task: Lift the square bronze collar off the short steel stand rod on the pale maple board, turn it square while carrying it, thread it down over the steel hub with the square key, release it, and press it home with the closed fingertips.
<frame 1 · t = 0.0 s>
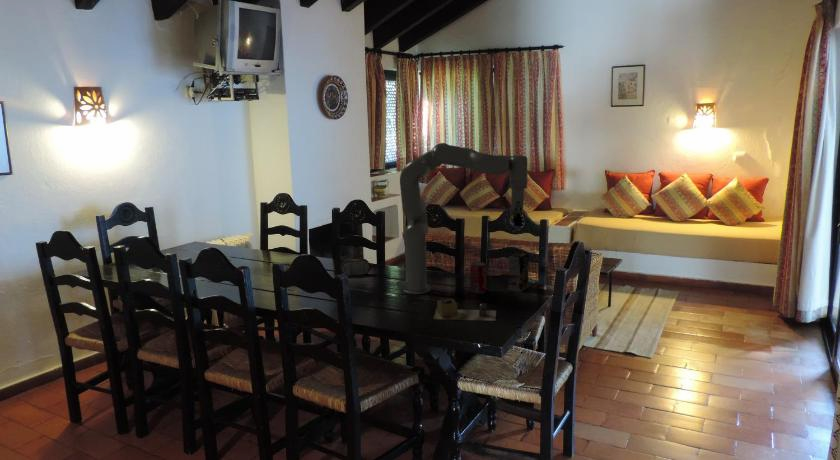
hand: (517, 223, 262), 31 cm above the table, tool pointing down, fingers open, 9 cm apart
hub: (482, 318, 236), resting on board
soda can: (478, 292, 270), on the table
tin: (355, 275, 302), on the table
coffee box: (518, 289, 274), on the table
collar: (447, 314, 238), point 1 cm above the table, touching board
board: (465, 317, 237), on the table
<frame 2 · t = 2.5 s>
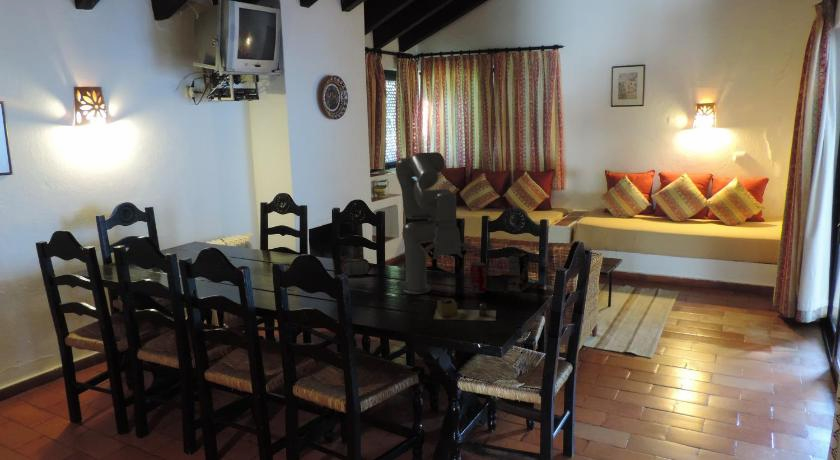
hand: (447, 267, 234), 20 cm above the table, tool pointing down, fingers open, 9 cm apart
nothing on the table moved.
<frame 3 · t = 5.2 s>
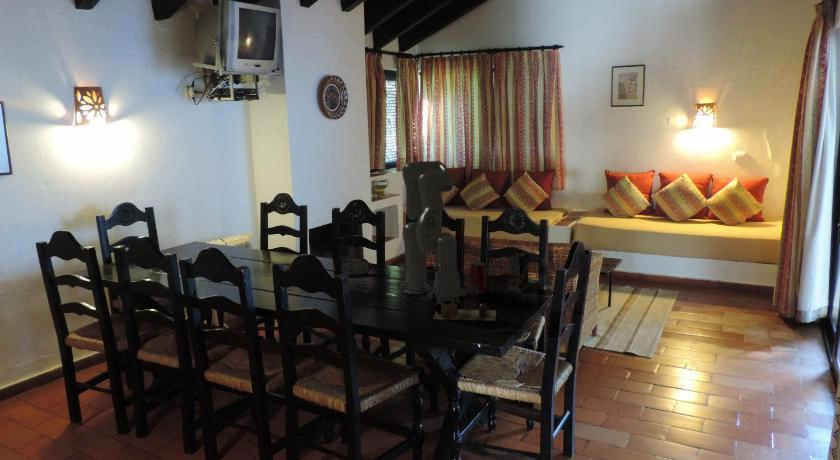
hand: (447, 312, 237), 2 cm above the table, tool pointing down, fingers closed on collar, 6 cm apart
collar: (447, 314, 238), point 1 cm above the table, touching board, gripper
everything else where it was.
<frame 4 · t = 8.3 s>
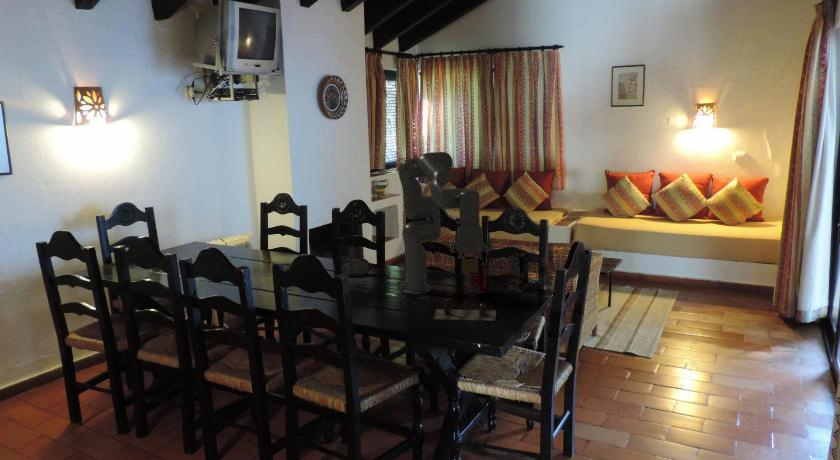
hand: (469, 268, 233), 20 cm above the table, tool pointing down, fingers closed on collar, 6 cm apart
collar: (469, 270, 233), point 19 cm above the table, touching gripper
everything else where it was.
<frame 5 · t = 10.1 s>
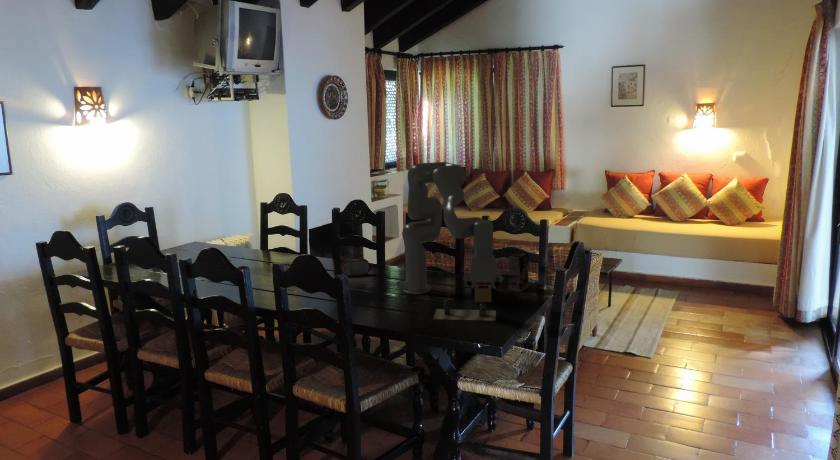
hand: (483, 297, 234), 9 cm above the table, tool pointing down, fingers closed on collar, 6 cm apart
collar: (483, 299, 234), point 8 cm above the table, touching gripper
everything else where it was.
when the fingers open (3 cm above the table, at t = 11.6 s): collar drops 1 cm, resting on board.
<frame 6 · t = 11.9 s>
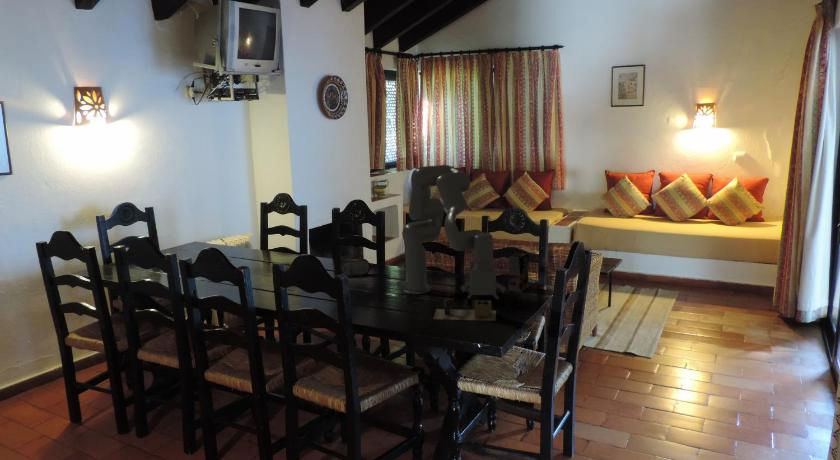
hand: (482, 307, 235), 4 cm above the table, tool pointing down, fingers open, 9 cm apart
collar: (482, 315, 236), point 1 cm above the table, touching board
everything else where it was.
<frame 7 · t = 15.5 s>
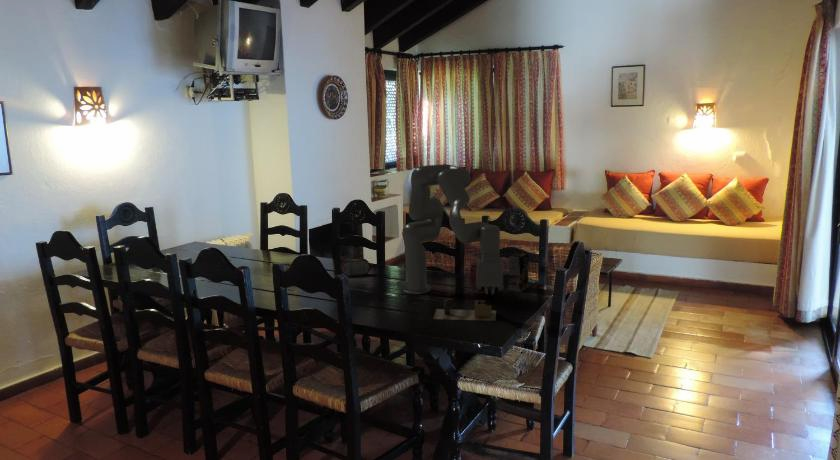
hand: (489, 303, 234), 6 cm above the table, tool pointing down, fingers closed
collar: (482, 315, 236), point 1 cm above the table, touching board, gripper
everything else where it was.
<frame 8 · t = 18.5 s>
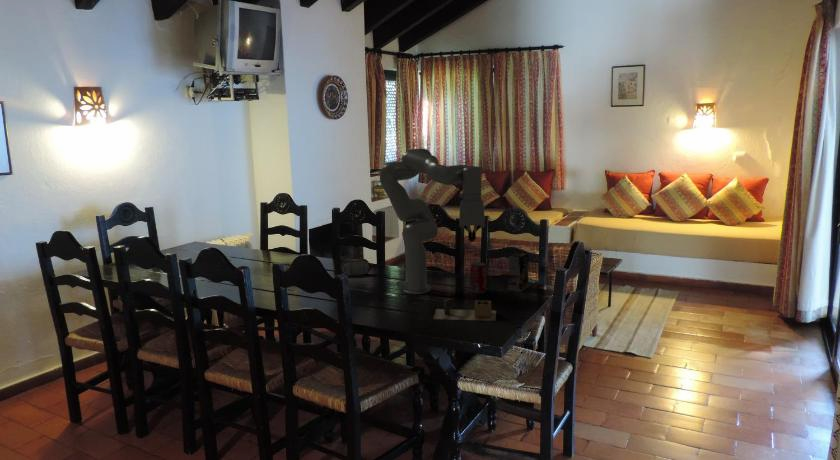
hand: (472, 241, 248), 27 cm above the table, tool pointing down, fingers closed
collar: (482, 315, 236), point 1 cm above the table, touching board
everything else where it was.
at the end: collar 0.0 cm off-centre on the hub, point 1.2 cm above the hub's base; collar tilted 0°; the gripper is holding nothing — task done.
